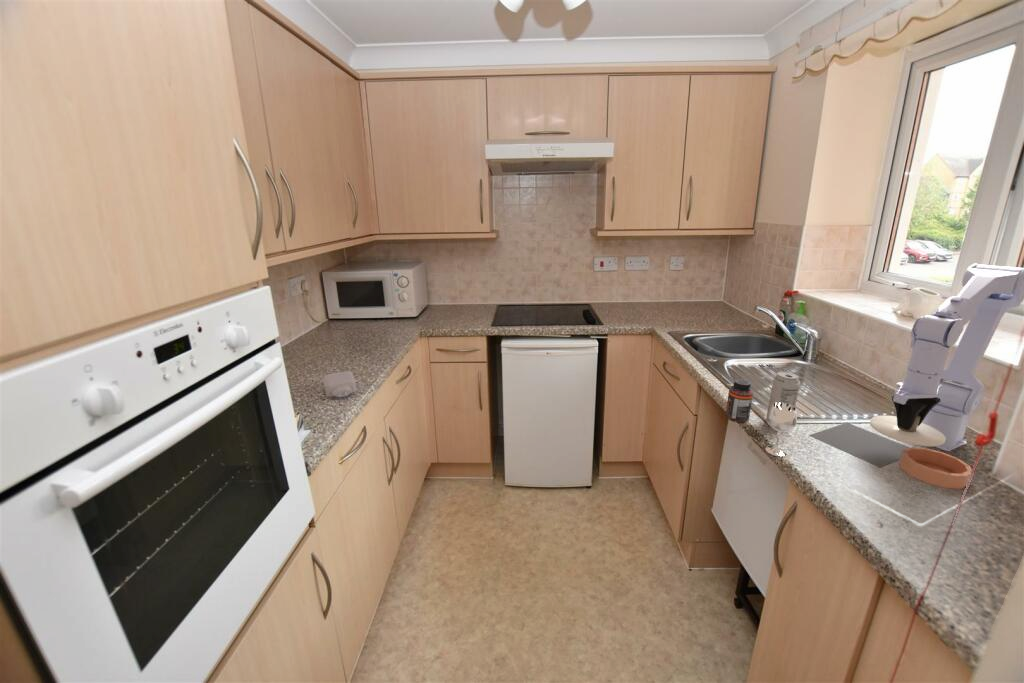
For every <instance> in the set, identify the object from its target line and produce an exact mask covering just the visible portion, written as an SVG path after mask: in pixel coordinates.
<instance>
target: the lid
mask: <svg viewBox="0 0 1024 683" xmlns="http://www.w3.org/2000/svg"><path fill="white" fill-rule="evenodd" d="M919 420H920V416H919V415H918V416H917V417H916V419H915V421H914V423H913V425H912V427H911V428H910V430H906V429H903V428H901V427H898V426H897V415H876V416H873V417H872V418H871V419H870V421H869V425H870V426H871V428H872V429H873V430H874V431H876V432H878V433H879V434H881V435H883V436H884V437H886V438H889V439H891V440H892V439H893V440H896V441H899V442H902V443H905V444H909V445H913V446H919V447H928V448H929V447H930V448H931V447H933V448H935V446H941V445H943V444H944V443H945V440H946V437H945V436H944V435H943V434H942V433H941V432H940V431H938V430H936V429H935V428H933V427H931V426H928V425H926V424H923V423H921V424H920V425H919V426H918V424H919Z"/></svg>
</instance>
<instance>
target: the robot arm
mask: <svg viewBox="0 0 1024 683" xmlns="http://www.w3.org/2000/svg"><path fill="white" fill-rule="evenodd" d="M961 280H962V282H961V285H962V289H961V290H960V292H959V293H958V294H957V296H950V297H947V298H946V299H945V300H944V301H943V302H941V303H940V305H938V307H936V308H935V309H934V310H933V311H932V312H930V314H925V315H924V316H919V317H918V318H917V319H916V320H915V322H914V323H913V326H912V328H911V330H910V331H911V332H910V337H911V342H910V348H911V353H910V356H909V359H908V363H907V367H906V370H905V374H904V378H903V380H902V382H901V381H900V382H897V383H895V387H897V388H898V391H897V392H895V393H894V395H892V398H891V400H892V402H893V405H894V407H895V411H896V413H895V414H896V416H897V426H898V427H901V428H903V429H906V430H910V428H911V427H912V425H913V423H914V421H915V419H916V417H917V416H918V415H919V416H920V420H919V424H918V426H919V425H920V424H921V423H923V424H926V425H928V426H931V427H933V428H935V429H936V430H938V431H940V432H941V433H942V434H943V435H944V436H945V437H946V440H945V443H944V444H943V445H941V446H934V448H938V449H940V450H943V451H945V452H950V451H953V450H954V449H957V448H959V447H962V446H963V445H964V446H965V445H967V444H968V442H967V441H965V440H963V439H964V436H965V433H966V431H967V427H968V425H969V421H970V417H969V416H970V415H974V414H976V412H977V411H978V410H979V409H980V406H981V404H982V402H983V396H984V394H985V390H986V388H985V384H983V382H981V380H980V379H979V378H978V377H977V376H976V375H975V374H976V371H977V370H978V367H979V365H980V364H981V361H982V359H983V357H984V355H985V353H986V351H987V348H988V347H989V345H990V342H991V340H992V339H993V336H994V334H995V333H996V331H997V328H998V327H999V324H1000V322H1001V320H1002V318H1003V317H1004V316H1005V314H1006V312H1007V311H1008V310H1009V309H1012V308H1013V309H1014V308H1018V307H1020V305H1021V304H1022V302H1023V301H1024V267H1013V266H1001V265H989V264H980V263H973V264H971V265H970V266H968V267H967V269H966V270H965V272H964V274H963V277H962V279H961ZM966 324H967V326H966ZM964 326H966V328H965V329H964ZM963 331H964V332H963ZM961 335H962V336H961ZM960 336H961V339H960V341H959V338H960ZM958 341H959V343H958V345H957V347H956V349H955V351H954V352H953V356H952V357H951V360H950V362H949V364H948V366H947V368H945V366H946V363H947V360H948V356H949V353H950V351H951V348H952V347H953V346H954V345H955V344H956V343H957V342H958Z"/></svg>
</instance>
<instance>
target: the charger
mask: <svg viewBox="0 0 1024 683" xmlns="http://www.w3.org/2000/svg"><path fill="white" fill-rule="evenodd" d="M322 380H323V385H324V390H325V395H326V397H327V398H334V397H337V398H342V397H347V396H349V395H350V394H354V393H356V392H357V382H356V379H355V377H354V374H353V372H352V371H349V370H346V371H340V372H334V373H328V374H325V375H323V376H322Z"/></svg>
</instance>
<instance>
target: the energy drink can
mask: <svg viewBox="0 0 1024 683" xmlns="http://www.w3.org/2000/svg"><path fill="white" fill-rule="evenodd" d="M799 378H800V377H799V375H798V374H796V373H793V372H789V371H779V372H776V375H775V376H774V377H773V379H772V385H771V390H770V395H769V400H768V406H767V412H766V417H765V422H766V424H767V425H768V426H769V427H770V425H769V423H768V415H769V412H770V409H771V407H772V406H773V404H774V403H777V402H781V403H787V404H790V405H792V406H794V407H795V408H796V406H797V402H798V397H799V391H800V388H801V381H800V379H799Z"/></svg>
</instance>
